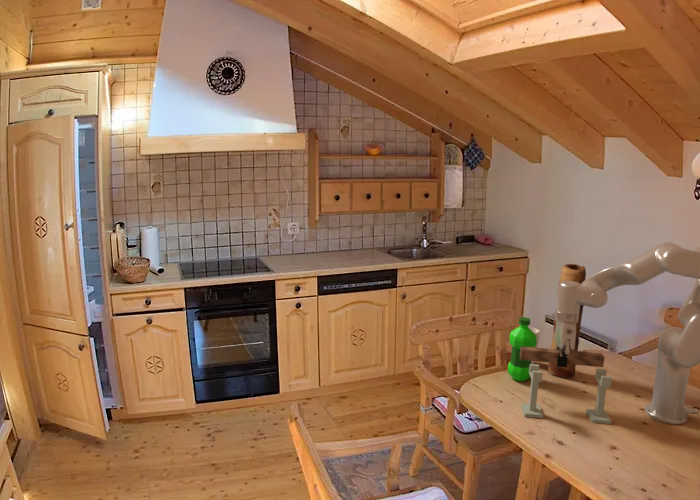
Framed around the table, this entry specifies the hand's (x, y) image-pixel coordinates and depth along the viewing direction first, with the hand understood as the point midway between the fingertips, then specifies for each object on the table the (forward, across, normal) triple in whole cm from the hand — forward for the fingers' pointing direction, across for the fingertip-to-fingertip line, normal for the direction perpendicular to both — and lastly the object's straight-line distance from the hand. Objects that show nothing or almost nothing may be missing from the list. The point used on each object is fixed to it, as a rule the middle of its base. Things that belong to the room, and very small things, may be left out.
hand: (560, 363), depth 187 cm
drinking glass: (+15, +31, +4) cm, 35 cm away
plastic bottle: (+15, +16, +10) cm, 24 cm away
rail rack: (+14, -10, -1) cm, 18 cm away
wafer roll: (+15, +24, -8) cm, 29 cm away
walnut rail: (-1, 0, 0) cm, 1 cm away
